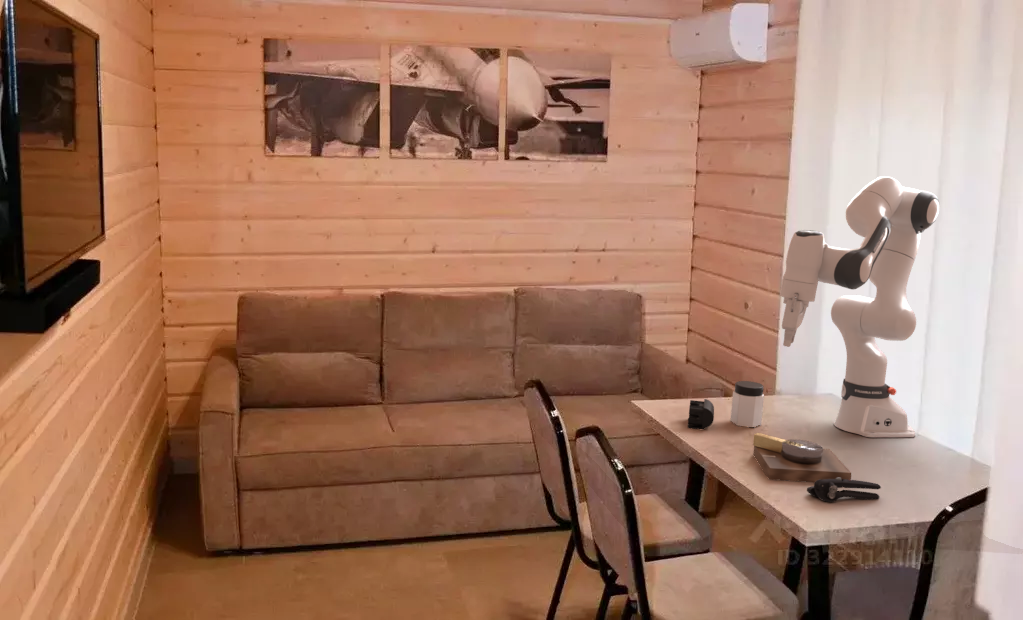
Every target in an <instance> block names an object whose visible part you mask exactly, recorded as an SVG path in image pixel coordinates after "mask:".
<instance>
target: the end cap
mask: <svg viewBox="0 0 1023 620" xmlns="http://www.w3.org/2000/svg"><path fill="white" fill-rule="evenodd" d="M688 408H689V409H688V420H687V421H688V422H687V429H691V428H692V429H693V430H700V429H704V430H706V429H708V428H710V426H711V425H713V423H714V420H715V406H714V404H713V402H712V401H710V400H709V399H706V398H704V400H703V401H702V400H693V399H691V400H690V401H689V407H688Z"/></svg>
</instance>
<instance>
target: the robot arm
mask: <svg viewBox="0 0 1023 620" xmlns="http://www.w3.org/2000/svg"><path fill="white" fill-rule="evenodd" d="M939 212H940V201H939V199H938V196H937V195H936V194H934V193H933V192H930V191H927V190H919V189H917V188H911V187H905V186H903V185H902V184H901V183H900V182H899V181H898V180H897V179H895V178H893V177H891V176H887V175H886V176H885V175H884V176H878V177H877V178H876V179H873V180H871V181H870V182H869V183H868V184H866V185H865V186H864V187H862V189H860V191H859V192H857V193H856V194H855V196H854V197H853V198H852V199H851V200H850V202H849V203H848V205H847V206H846V209H845V219H846V223H847V224H848V226H849V228H850V229H851V230H852V232H854V233H855V234H856V235H858V236H860V237H862V238H863V241H862V242H861V243H860V246H859V247H858V248H853V249H852V248H843V247H842V248H841V247H836V246H830V245H829V244H828V243H826V242H825V234H824V233H823V232H821V231H819V230H808V229H801V230H800V229H799V230H798V231H796V232H794V233H793V235H792V238H791V240H790V243H789V247H788V250H787V254H786V260H785V272H784V274H783V276H782V280H781V281H782V282H781V286H780V291H779V297H781V298H783V304H785V307H784V308H785V309H784V311H783V317H782V322H781V323H782V324H781V328H782V330H784V332H783V333H784V334H783V337H784V338H783V343H782V344H783V345H782V346H784V347H786V348H787V347H788V348H789V347H791V344H793V343H794V342H795V337H796V334H797V330H798V329H799V328H800V326H801V325H802V323H803V320H804V318H805V314H806V310H807V308H809V304H810V302H813V303H814V302H815V300H816V296H817V295H816V294H817V290H818V283H819V282H821V283H824V284H830V285H835V286H839V287H841V288H846V289H849V290H856V289H859V288H860V287H862V286H864V285H865V284H866V283H867V282H868V280H869V281H870V282H871V284H872V285H874V286H875V287H876V294H875V297H874V298H872V297H867V296H863V295H857V294H856V295H853V294H852V295H841V296H839V297H838V298H836V300H835V301H834V303H832V306H831V310H830V316H831V320H832V323H833V324H834V325H835V327H836V328H837V329H838V330H839V332H840V334H841V336H842V338H843V342H844V346H845V352H846V362H845V363H846V366H845V375H844V378H843V381H842V385H841V392H840V393H841V401H840V404H839V405H840V406H839V409H838V413H837V416H836V418H835V419H834V422H833V425H834V426H835V427H836V428H837V429H840V430H843V431H845V432H849V433H851V434H852V433H853V434H857V435H860V436H863V437H866V438H914V437H915V435H916V432H915V429H913V427H912V426H910V425H909V423H908V422H909V421H908V415H907V413H906V410H904V408H903V407H901V406H900V405H899V404H898V403H897V402H896V401H895V400H894V399H893V398H892V397H891V396H895V395H896V394H897V390H896V389H895V388H894V387H893V386H890V385H888V384H886V376H887V375H886V374H887V366H888V359H887V356H886V354H885V352H883V351H882V350H881V349H880V348H879V346H878V344H877V342H876V339H879V340H884V341H892V342H893V341H894V342H895V341H897V342H898V341H900V342H901V341H906V340H907V339H909V338H910V337H912V335H913V333H914V332H915V330H916V327H917V317H916V314H915V312H914V310H913V309H912V308H911V306H910V304H909V302H908V298H907V297H908V296H907V285H908V282H909V278H910V275H911V272H912V269H913V266H914V263H915V260H916V256H917V254H918V250H919V245H920V241H921V234H922V233H924V231H925V230H927V229H929V228H930V227H931V226H932V225H933V224H934V223H935V222H936V221H937V218H938V216H939V214H940V213H939Z"/></svg>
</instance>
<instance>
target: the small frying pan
mask: <svg viewBox="0 0 1023 620" xmlns="http://www.w3.org/2000/svg"><path fill="white" fill-rule="evenodd" d="M752 441H753V442H752V446H753V447H754V446H757V447H761V448H765V449H768V450H772V451H775V452H779V453H781V456H782V457H783V458H785V459H787V460H789V461H793V462H797V463H803V464H815V463H819V462H821V460H822V452H823V449H824V448H823V446H821V445H820V444H818V443H816V442H812V441H809V440H803V439H784V438H781V437H776V436H772V435H769V434H765V433H761V432H757V433H753V440H752Z"/></svg>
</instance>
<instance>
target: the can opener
mask: <svg viewBox="0 0 1023 620" xmlns="http://www.w3.org/2000/svg"><path fill="white" fill-rule="evenodd" d="M840 488H841V489H842V488H844V489H842V490H839V489H840ZM881 488H882V486H881V485H880V484H879V483H876V482H875V483H874V482H869V481H864V480H857V479H851V480H848V479H841V478H840V477H837V478H836V479H819V480H817V481H816V482H813V485H811V486H809V487H807V488H806V492H807V493H808V494H810V495H811V496H814V497H815V498H819V499H820V500H821V501H823V502H827V503H832V502H833V503H834V502H836V501H837V500H838V499H841V498H852V499H859V500H867V499H868V500H878V499H879V498H881V497H880V495H879V494H878V493H876V492H868V491H859V490H851V489H863V490H864V489H865V490H867V489H868V490H879V489H881ZM868 500H867V501H868Z"/></svg>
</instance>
